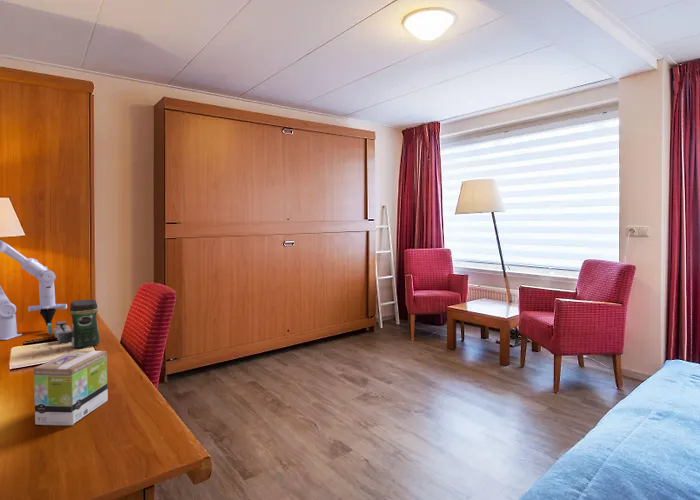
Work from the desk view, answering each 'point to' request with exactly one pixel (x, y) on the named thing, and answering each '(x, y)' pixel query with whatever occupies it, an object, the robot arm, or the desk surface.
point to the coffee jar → (84, 323)
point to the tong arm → (60, 332)
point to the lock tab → (49, 328)
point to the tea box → (70, 387)
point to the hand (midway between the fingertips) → (49, 325)
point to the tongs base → (67, 332)
